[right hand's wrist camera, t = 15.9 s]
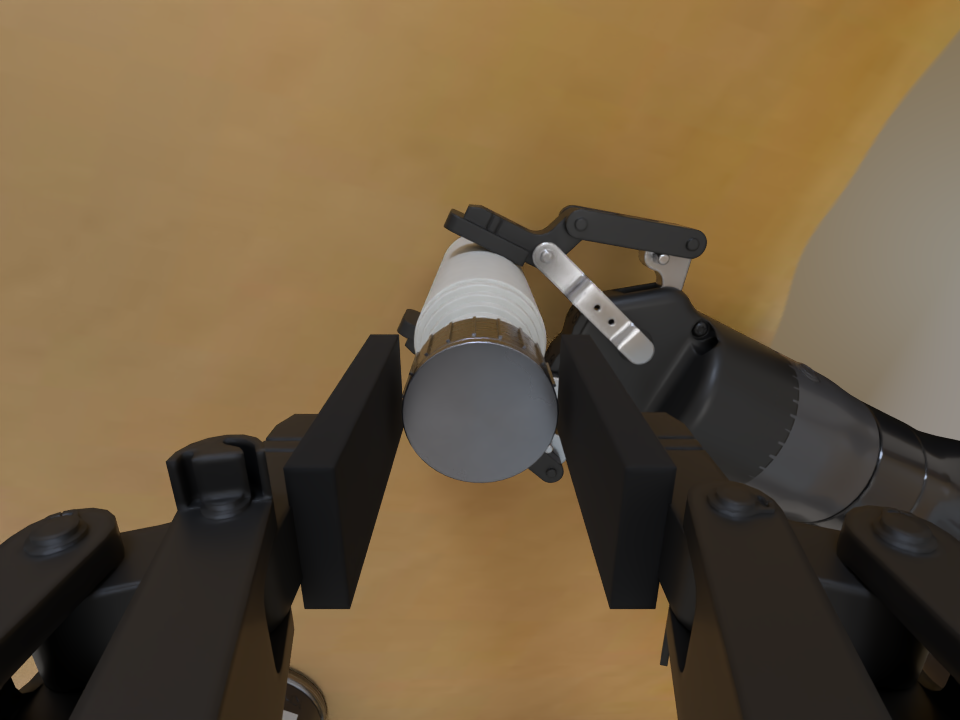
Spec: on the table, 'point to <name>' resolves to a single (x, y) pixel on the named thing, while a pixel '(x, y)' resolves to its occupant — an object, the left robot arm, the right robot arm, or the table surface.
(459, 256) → the bottle
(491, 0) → the table surface
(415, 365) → the cap
